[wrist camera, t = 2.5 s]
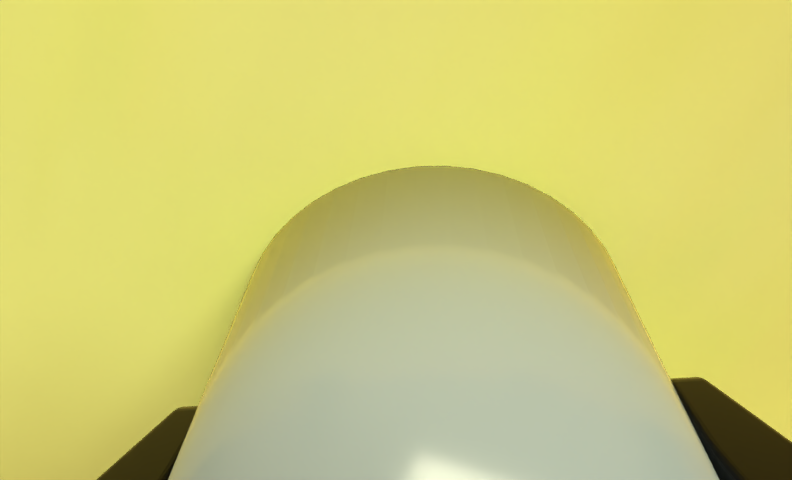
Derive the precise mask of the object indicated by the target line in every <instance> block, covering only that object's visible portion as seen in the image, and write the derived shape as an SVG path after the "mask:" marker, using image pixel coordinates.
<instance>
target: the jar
mask: <svg viewBox="0 0 792 480" xmlns="http://www.w3.org/2000/svg"><path fill="white" fill-rule="evenodd" d="M168 480H719V478H718V476H717V474H716V472H715V470H714V468H713V465H712V463H711V461H710V459H709V457H708V455H707V453H706V451H705V449H704V447H703V445H702V443H701V441H700V439H699V437H698V435H697V433H696V431H695V429H694V427H693V424H692V422H691V420H690V418H689V416H688V414H687V412H686V410H685V408H684V406H683V404H682V402H681V400H680V398H679V396H678V394H677V392H676V390H675V388H674V386H673V383H672V381H671V379H670V377H669V375H668V373H667V371H666V369H665V367H664V365H663V363H662V361H661V359H660V357H659V355H658V353H657V351H656V349H655V347H654V345H653V342H652V340H651V338H650V336H649V334H648V332H647V330H646V328H645V326H644V324H643V322H642V320H641V318H640V316H639V314H638V312H637V310H636V308H635V306H634V304H633V301H632V299H631V297H630V295H629V293H628V291H627V289H626V287H625V285H624V283H623V281H622V279H621V277H620V275H619V273H618V271H617V269H616V267H615V265H614V263H613V261H612V259H611V258H610V256H609V254H608V252H607V250H606V249H605V247H604V246H603V244H602V243H601V242H600V241H599V239H598V238H597V237H596V235H595V234H594V233H593V232H592V230H591V229H590V228H589V227H588V226H587V225H586V224H585V223H584V222H583V221H582V220H581V219H579V218H578V217H577V216H576V215H575V214H574V213H573V212H572V211H571V210H569V209H568V208H566V207H565V206H564V205H562V204H561V203H559V202H558V201H556V200H555V199H554V198H552V197H551V196H549V195H547V194H545V193H543V192H541V191H539V190H537V189H535V188H533V187H531V186H529V185H528V184H525V183H522V182H519V181H517V180H514V179H511V178H508V177H506V176H503V175H499V174H495V173H490V172H486V171H482V170H477V169H471V168H461V167H451V166H418V167H410V168H403V169H396V170H389V171H385V172H381V173H378V174H374V175H370V176H367V177H363V178H360V179H358V180H355V181H353V182H350V183H348V184H345V185H343V186H341V187H338V188H336V189H334V190H332V191H331V192H329V193H327V194H325V195H324V196H322V197H320V198H318V199H317V200H315V201H313V202H312V203H311V204H309V205H308V206H307V207H305V208H304V209H303V210H302V211H300V212H299V213H298V214H296V215H295V216H294V217H293V218H292V219H291V220H290V221H289V222H288V223H287V224H286V225H285V226H284V227H283V228H282V229H281V230H280V231H279V232H278V233H277V234H276V235H275V237H274V238H273V240H272V241H271V242H270V244H269V245H268V247H267V248H266V249H265V251H264V252H263V254H262V256H261V258H260V260H259V262H258V264H257V266H256V268H255V270H254V272H253V274H252V276H251V279H250V281H249V283H248V286H247V288H246V291H245V293H244V296H243V298H242V300H241V303H240V305H239V308H238V310H237V313H236V315H235V317H234V320H233V322H232V325H231V327H230V330H229V332H228V335H227V337H226V339H225V342H224V344H223V347H222V349H221V352H220V354H219V356H218V359H217V361H216V364H215V366H214V369H213V371H212V373H211V376H210V378H209V381H208V383H207V386H206V388H205V391H204V393H203V395H202V398H201V400H200V403H199V405H198V408H197V410H196V412H195V415H194V417H193V420H192V422H191V425H190V427H189V429H188V432H187V434H186V437H185V439H184V442H183V444H182V446H181V449H180V451H179V454H178V456H177V459H176V461H175V464H174V466H173V468H172V471H171V473H170V476H169V478H168Z"/></svg>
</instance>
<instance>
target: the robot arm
mask: <svg viewBox="0 0 792 480" xmlns="http://www.w3.org/2000/svg"><path fill="white" fill-rule="evenodd" d="M671 381H672V383H673V386H674V388H675V390H676V392H677V394H678V396H679V398H680V400H681V402H682V404H683V406H684V408H685V410H686V412H687V414H688V416H689V418H690V420H691V422H692V424H693V427H694V429H695V431H696V433H697V435H698V437H699V439H700V441H701V443H702V445H703V447H704V449H705V451H706V453H707V455H708V457H709V459H710V461H711V463H712V465H713V468H714V470H715V472H716V474H717V476H718V478H719V480H792V442H791V441H789V440H788V439H787V438H785V437H784V436H783V435H781V434H780V433H778V432H777V431H776V430H774V429H773V428H771V427H770V426H769V425H767V424H766V423H765V422H763V421H762V420H760V419H759V418H758V417H756V416H755V415H754V414H752V413H751V412H749V411H748V410H747V409H745V408H744V407H742V406H741V405H740V404H738V403H737V402H736V401H734V400H733V399H731V398H730V397H729V396H727V395H726V394H725V393H723V392H722V391H720V390H719V389H718V388H716V387H715V386H713V385H712V384H711V383H709V382H708V381H706V380H705V379H702V378H699V377H690V378H673V379H671ZM197 408H198V406H192V407H181V408H178V409H176V410H175V411H173V412H172V413H171V414H170V415H169V416H167V417H166V418H165V419H164V420H163V421H162V422H161V423H160V424H159V425H157V426H156V427H155V428H154V429H153V430H152V431H151V432H150V433H148V434H147V435H146V436H145V437H144V438H143V439H142V440H141V441H139V442H138V443H137V444H136V445H135V446H134V447H133V448H132V449H130V450H129V451H128V452H127V453H126V454H125V455H124V456H123V457H121V458H120V459H119V460H118V461H117V462H116V463H115V464H114V465H112V466H111V467H110V468H109V469H108V470H107V471H106V472H105V473H103V474H102V475H101V476H100V477H99V478H98V479H97V480H168V478H169V476H170V473H171V471H172V468H173V466H174V464H175V461H176V459H177V456H178V454H179V451H180V449H181V446H182V444H183V442H184V439H185V437H186V434H187V432H188V429H189V427H190V425H191V422H192V420H193V417H194V415H195V412H196V410H197Z"/></svg>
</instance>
